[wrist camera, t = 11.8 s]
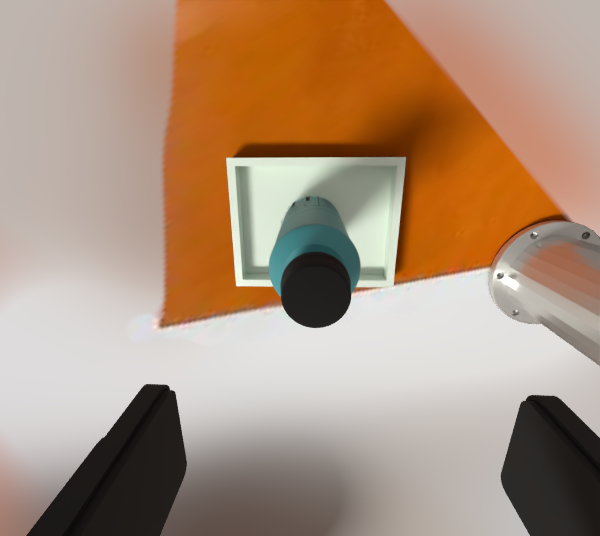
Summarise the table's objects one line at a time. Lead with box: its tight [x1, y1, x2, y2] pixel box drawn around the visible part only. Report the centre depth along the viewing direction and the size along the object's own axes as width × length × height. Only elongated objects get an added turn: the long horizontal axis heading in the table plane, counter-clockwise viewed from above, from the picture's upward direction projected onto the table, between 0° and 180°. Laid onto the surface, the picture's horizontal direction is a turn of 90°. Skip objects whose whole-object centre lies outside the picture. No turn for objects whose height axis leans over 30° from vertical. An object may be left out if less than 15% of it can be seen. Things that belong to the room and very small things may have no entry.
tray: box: [226, 157, 406, 287], centre depth 35 cm, size 18×14×2 cm
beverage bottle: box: [269, 195, 361, 328], centre depth 26 cm, size 6×7×20 cm
